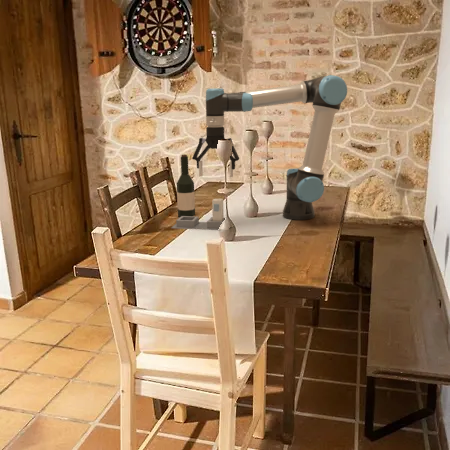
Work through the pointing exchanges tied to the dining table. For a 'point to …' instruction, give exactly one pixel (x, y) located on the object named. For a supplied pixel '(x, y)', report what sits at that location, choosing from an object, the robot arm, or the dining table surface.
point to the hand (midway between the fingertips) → (215, 176)
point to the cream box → (217, 210)
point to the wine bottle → (185, 191)
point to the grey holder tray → (196, 223)
